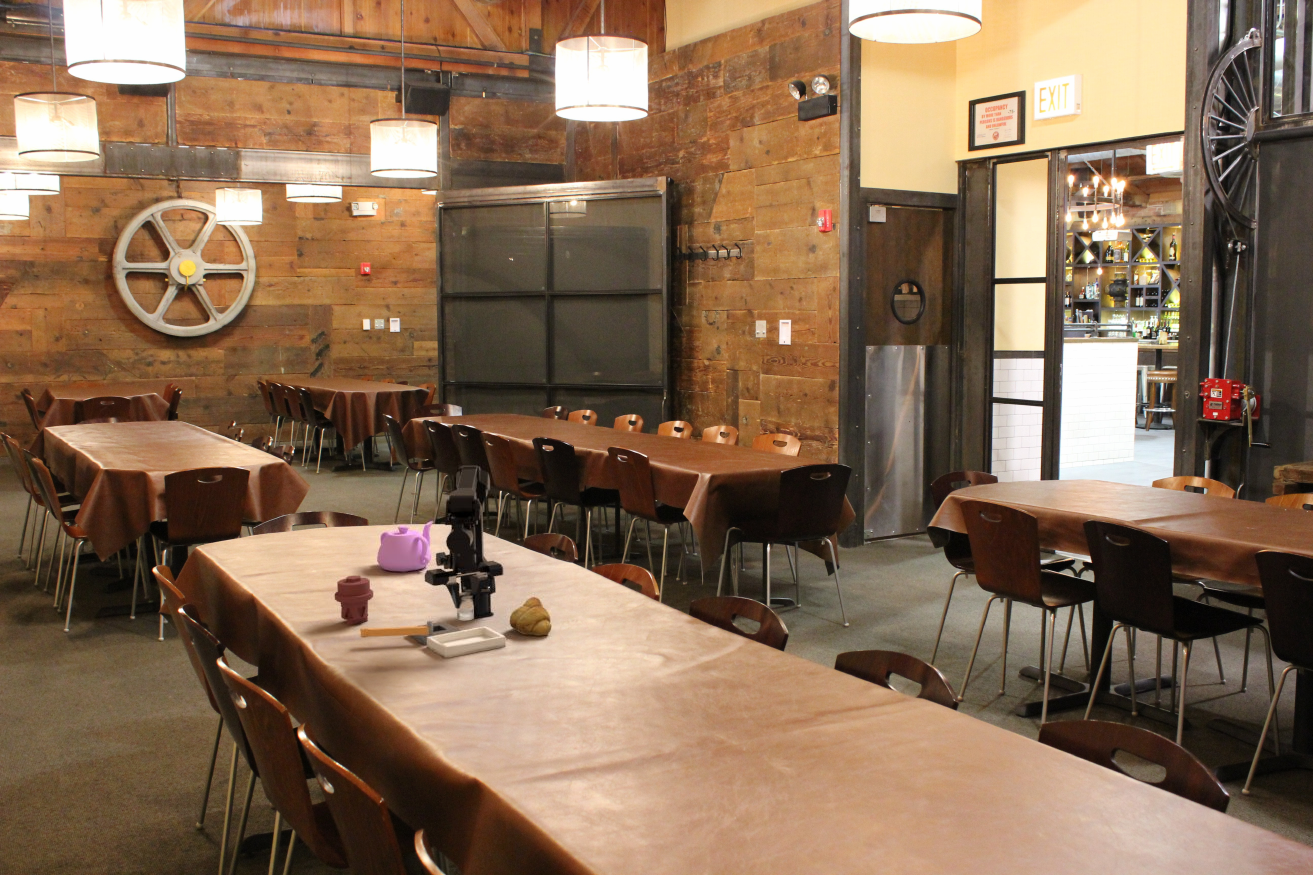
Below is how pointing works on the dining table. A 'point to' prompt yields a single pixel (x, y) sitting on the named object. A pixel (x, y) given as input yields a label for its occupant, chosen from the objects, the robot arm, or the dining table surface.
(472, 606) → the salt shaker
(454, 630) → the hitch block
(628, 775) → the dining table surface
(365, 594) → the mechanical component
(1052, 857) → the dining table surface
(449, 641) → the tray
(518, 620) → the bread roll
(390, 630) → the bar
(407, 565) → the teapot
